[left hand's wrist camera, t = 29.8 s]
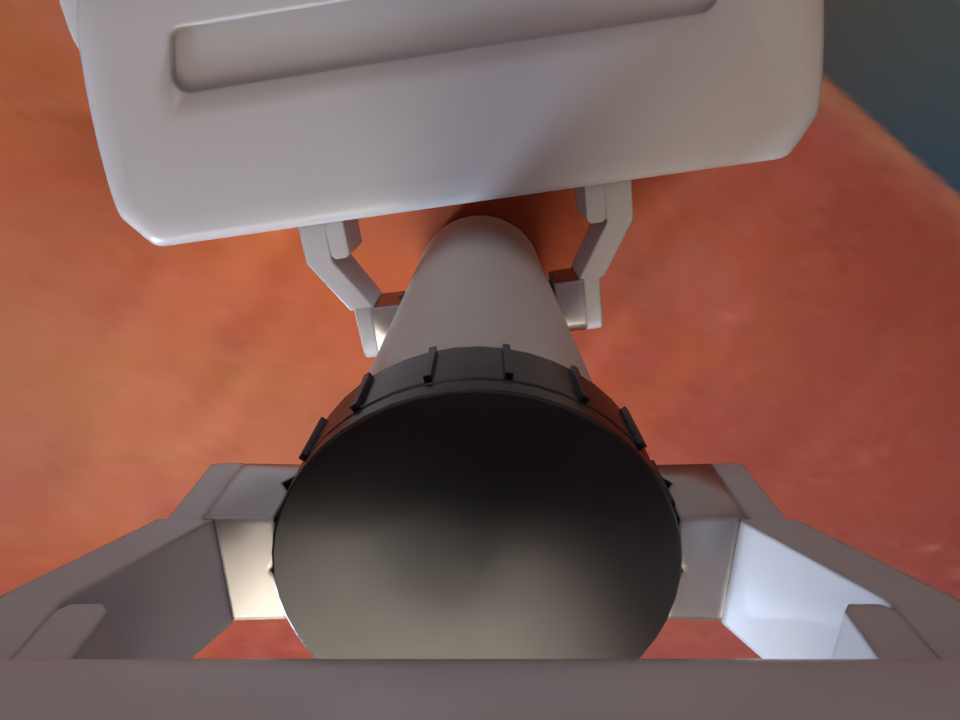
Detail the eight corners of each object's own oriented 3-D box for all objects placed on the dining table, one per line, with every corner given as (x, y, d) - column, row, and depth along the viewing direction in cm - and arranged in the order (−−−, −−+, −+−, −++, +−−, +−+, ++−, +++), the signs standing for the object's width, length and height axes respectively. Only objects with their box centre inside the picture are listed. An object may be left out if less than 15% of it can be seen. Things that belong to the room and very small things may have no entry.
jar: (496, 354, 26) (519, 690, 11) (397, 293, 25) (260, 564, 10) (564, 259, 25) (706, 487, 9) (461, 189, 24) (423, 312, 8)
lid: (729, 509, 10) (773, 579, 8) (476, 691, 11) (475, 779, 10) (481, 259, 8) (481, 289, 7) (227, 506, 10) (181, 576, 8)
